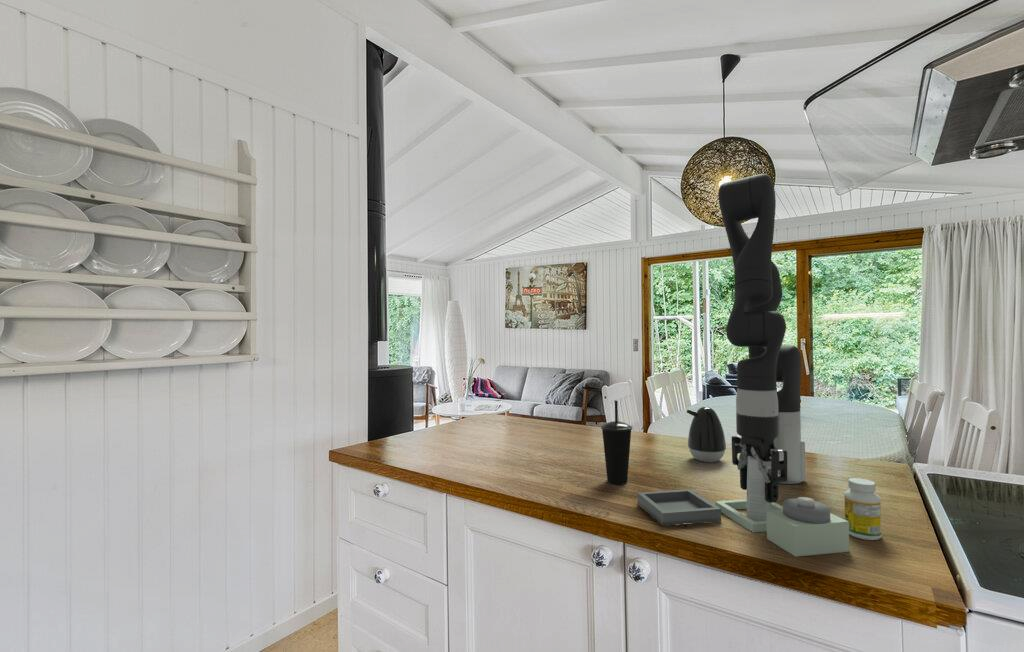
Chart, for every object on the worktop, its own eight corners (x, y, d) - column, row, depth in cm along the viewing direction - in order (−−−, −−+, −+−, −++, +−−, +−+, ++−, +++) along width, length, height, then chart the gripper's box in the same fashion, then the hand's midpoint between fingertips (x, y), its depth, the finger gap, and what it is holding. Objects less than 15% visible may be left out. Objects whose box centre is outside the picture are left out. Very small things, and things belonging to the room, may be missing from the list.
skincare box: (746, 511, 100) (745, 451, 100) (771, 514, 98) (769, 453, 98) (746, 521, 95) (745, 459, 95) (773, 525, 93) (771, 461, 93)
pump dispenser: (683, 455, 145) (682, 404, 145) (720, 455, 144) (719, 404, 144) (691, 464, 135) (690, 409, 135) (731, 465, 134) (730, 409, 134)
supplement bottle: (880, 543, 84) (879, 488, 84) (843, 535, 88) (842, 482, 88) (882, 533, 88) (881, 480, 88) (846, 526, 92) (845, 475, 92)
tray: (689, 500, 107) (689, 489, 107) (721, 521, 95) (721, 508, 95) (637, 504, 105) (637, 492, 105) (663, 526, 93) (663, 513, 93)
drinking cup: (627, 488, 116) (625, 403, 116) (597, 483, 120) (595, 401, 120) (637, 479, 122) (636, 399, 122) (608, 475, 126) (607, 398, 126)
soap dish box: (765, 504, 103) (764, 468, 104) (852, 551, 82) (851, 504, 82) (715, 508, 102) (714, 471, 102) (791, 556, 80) (790, 509, 80)
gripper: (800, 417, 90) (802, 506, 90) (751, 405, 104) (752, 483, 104) (763, 418, 89) (765, 509, 89) (718, 407, 103) (720, 485, 103)
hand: (758, 495), depth 97 cm, fingers closed on skincare box, 7 cm apart
